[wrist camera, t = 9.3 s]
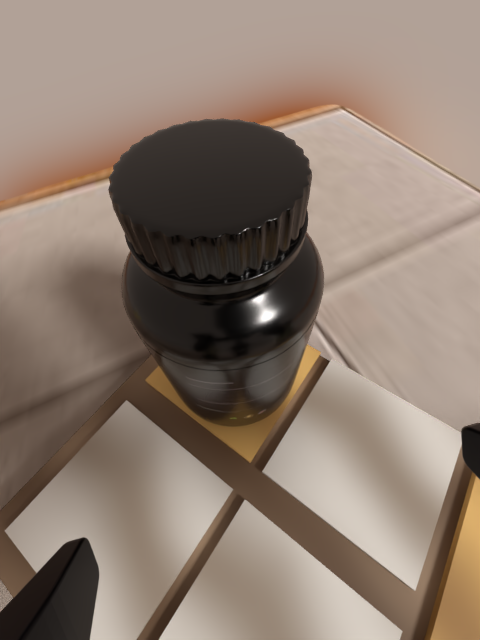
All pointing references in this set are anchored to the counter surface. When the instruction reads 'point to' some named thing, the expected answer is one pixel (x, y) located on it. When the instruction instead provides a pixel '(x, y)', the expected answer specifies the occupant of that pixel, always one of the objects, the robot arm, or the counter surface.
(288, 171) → the supplement bottle
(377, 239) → the counter surface
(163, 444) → the wooden tray
